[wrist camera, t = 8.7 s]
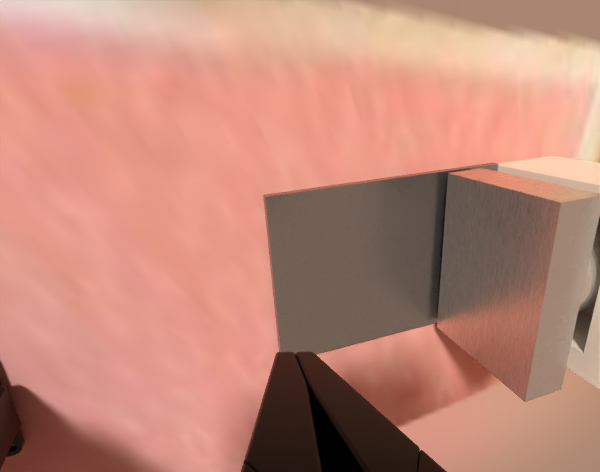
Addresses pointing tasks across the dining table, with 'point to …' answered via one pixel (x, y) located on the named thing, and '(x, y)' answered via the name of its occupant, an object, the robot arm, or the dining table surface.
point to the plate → (357, 259)
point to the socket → (596, 321)
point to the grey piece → (517, 274)
